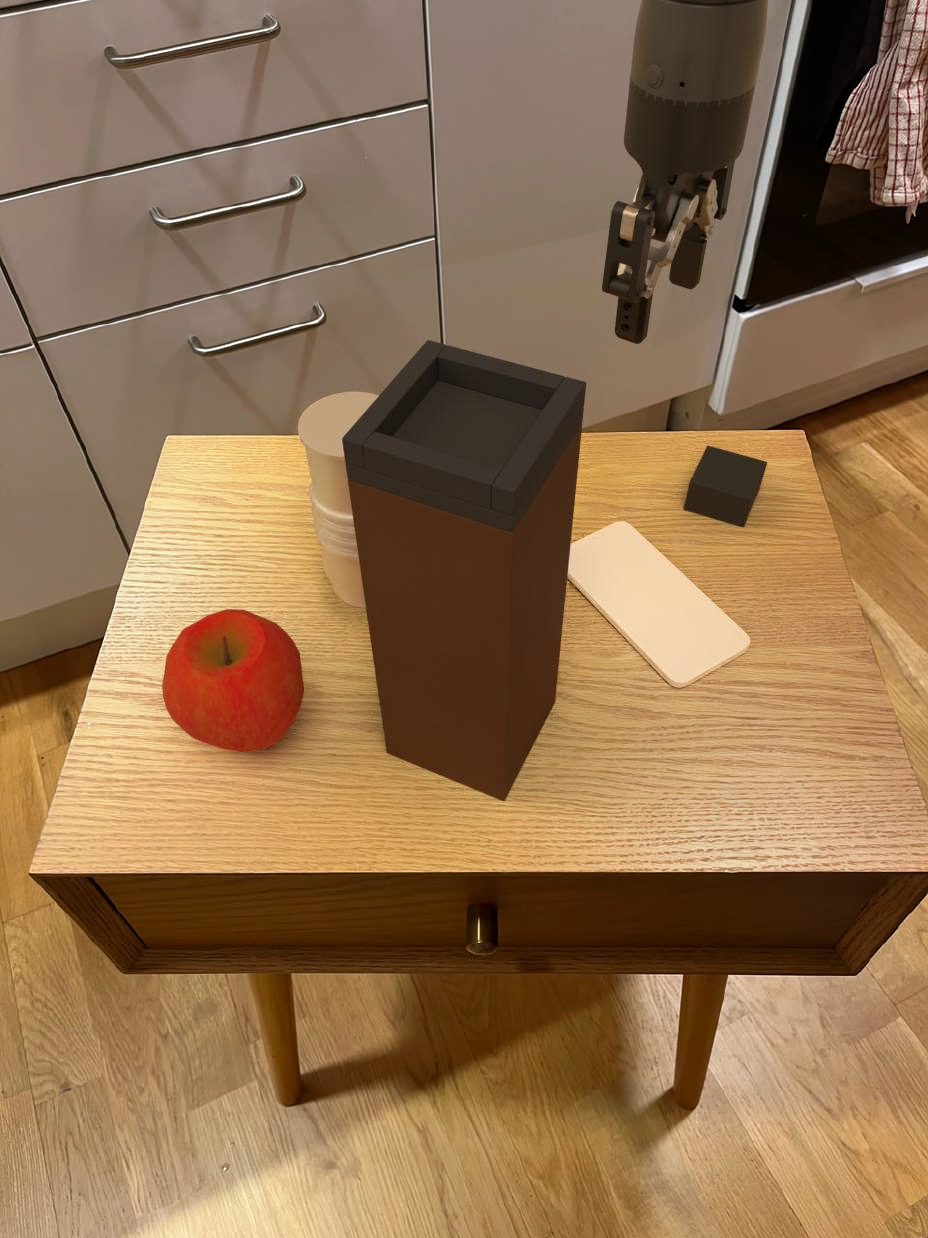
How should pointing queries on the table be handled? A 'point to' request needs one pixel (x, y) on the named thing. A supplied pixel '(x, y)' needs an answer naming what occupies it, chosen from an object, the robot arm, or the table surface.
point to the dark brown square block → (725, 485)
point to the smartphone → (654, 604)
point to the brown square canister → (466, 555)
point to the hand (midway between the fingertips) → (657, 310)
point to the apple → (233, 681)
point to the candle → (334, 488)
